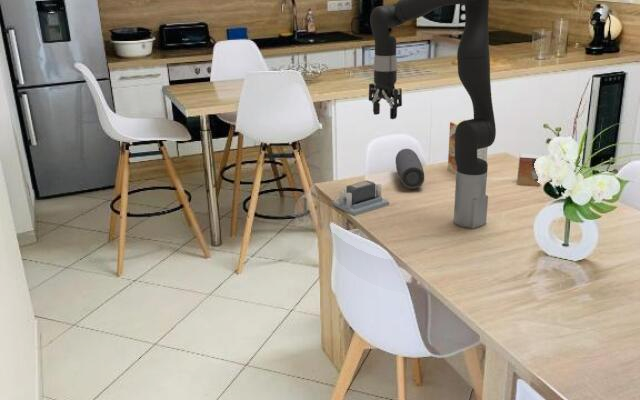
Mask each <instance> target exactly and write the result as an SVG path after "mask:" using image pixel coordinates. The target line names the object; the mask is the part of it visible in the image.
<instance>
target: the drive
mask: <svg viewBox="0 0 640 400" xmlns="http://www.w3.org/2000/svg"><path fill="white" fill-rule="evenodd" d="M372 182H373V181H372ZM372 182H371V181H370V180H364V181H360V182H356V183H354V184H349V185H346V189H345V194H346V193H352V206H353V205H355V204H359V203H362V202H365V201H369V200H372V199H375V196H376V185H377V184H376V183H375V182H374V183H372Z"/></svg>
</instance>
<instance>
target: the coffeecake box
mask: <svg viewBox="0 0 640 400" xmlns="http://www.w3.org/2000/svg"><path fill="white" fill-rule="evenodd" d="M465 120H466V119H462V120H453V121H449V137H448V140H449V141H448V155H447V160H448V161H447V171H449V172H450V173H453V174H455V175H456V170H457V165H456V161H455V131H456V127H457V125H458V124H459V123H460V122H462V121H465ZM488 148H489V147H486V148H481V149H477V158H480V159H483V160H485V161H486V162H487V159H488ZM487 163H488V162H487Z"/></svg>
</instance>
